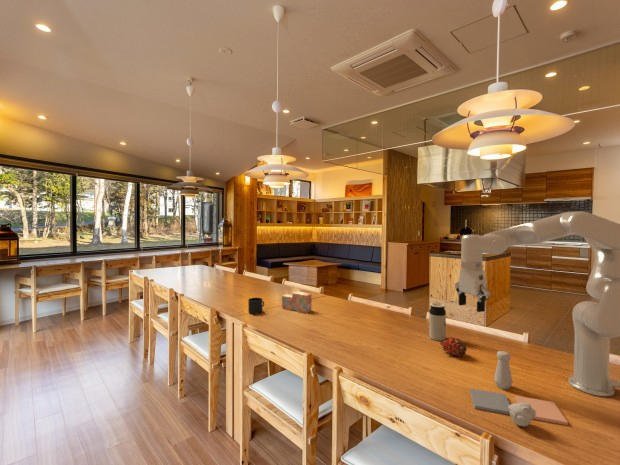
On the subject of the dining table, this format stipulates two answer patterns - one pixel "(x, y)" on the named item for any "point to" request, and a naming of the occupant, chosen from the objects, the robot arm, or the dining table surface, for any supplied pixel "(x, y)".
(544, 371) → the dining table surface
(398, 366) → the dining table surface
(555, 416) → the terracotta tile
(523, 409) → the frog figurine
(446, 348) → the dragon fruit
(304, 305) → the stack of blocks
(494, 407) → the slate tile
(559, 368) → the dining table surface
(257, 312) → the mug
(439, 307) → the travel mug
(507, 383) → the salt shaker
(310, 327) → the dining table surface
